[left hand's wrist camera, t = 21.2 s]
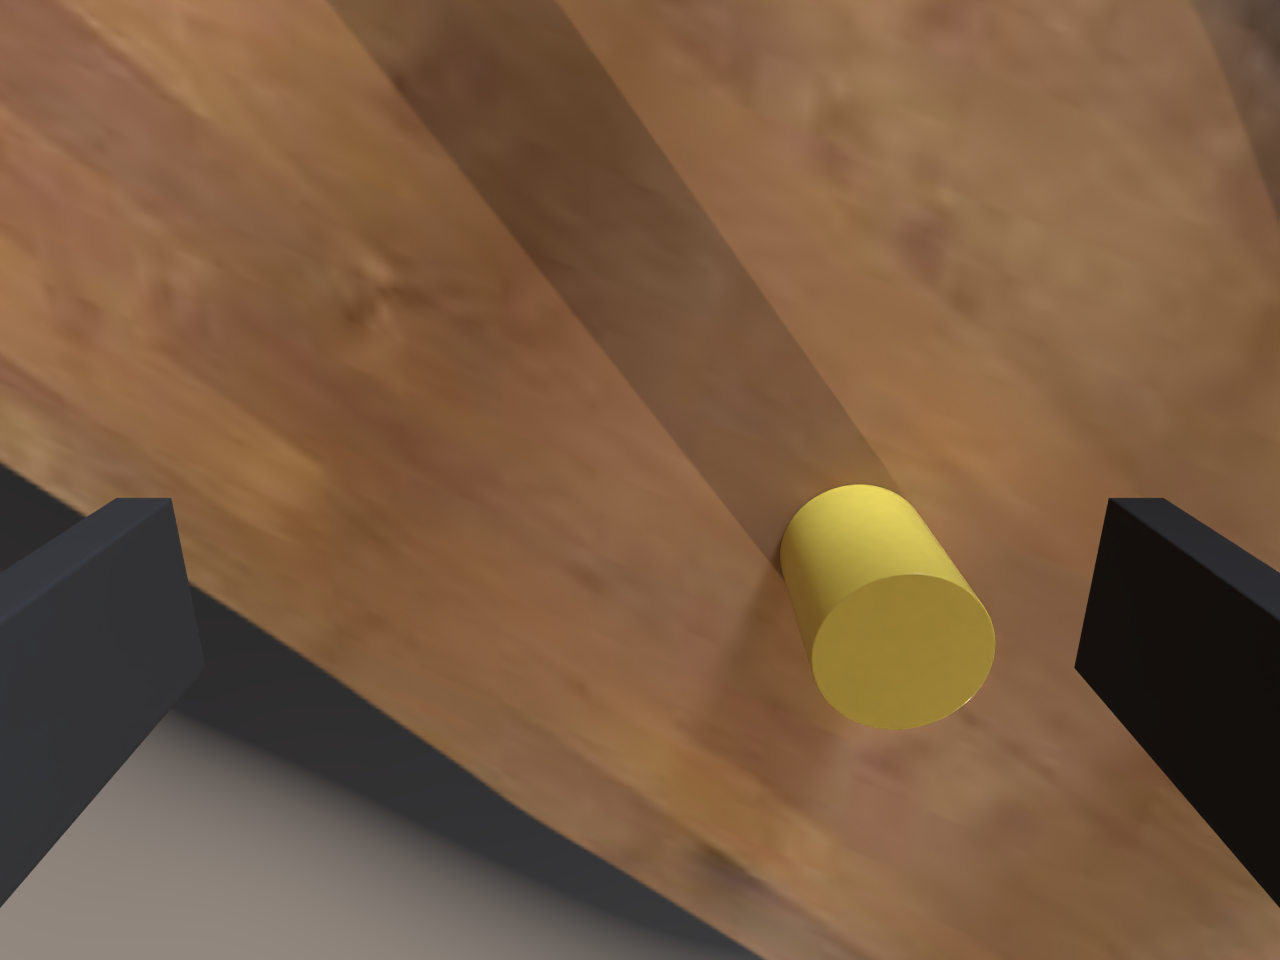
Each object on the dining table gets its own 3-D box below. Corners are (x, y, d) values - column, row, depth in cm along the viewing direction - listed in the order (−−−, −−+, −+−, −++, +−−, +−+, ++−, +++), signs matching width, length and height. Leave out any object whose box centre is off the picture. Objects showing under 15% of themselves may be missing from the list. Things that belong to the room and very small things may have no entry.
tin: (749, 547, 44) (774, 649, 35) (867, 454, 42) (924, 538, 33) (839, 640, 45) (883, 759, 37) (956, 556, 44) (1031, 660, 35)
